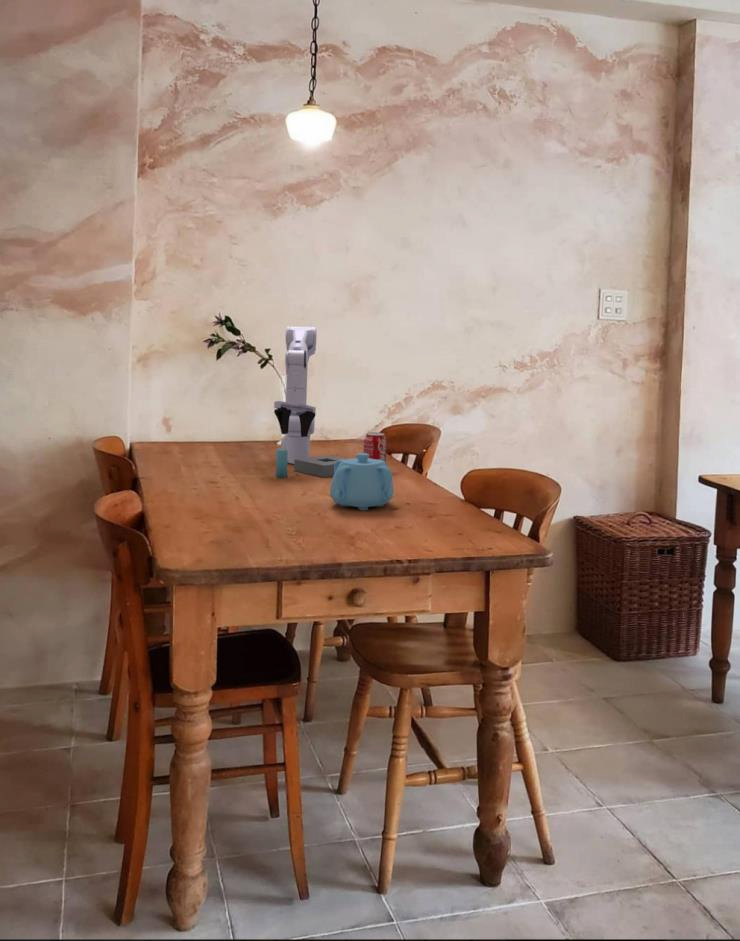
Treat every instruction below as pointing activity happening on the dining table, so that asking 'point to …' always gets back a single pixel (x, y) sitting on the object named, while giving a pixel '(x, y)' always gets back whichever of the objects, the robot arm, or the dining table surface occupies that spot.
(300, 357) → the robot arm
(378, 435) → the soda can
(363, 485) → the decorative pot
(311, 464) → the socket
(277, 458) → the peg
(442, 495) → the dining table surface
